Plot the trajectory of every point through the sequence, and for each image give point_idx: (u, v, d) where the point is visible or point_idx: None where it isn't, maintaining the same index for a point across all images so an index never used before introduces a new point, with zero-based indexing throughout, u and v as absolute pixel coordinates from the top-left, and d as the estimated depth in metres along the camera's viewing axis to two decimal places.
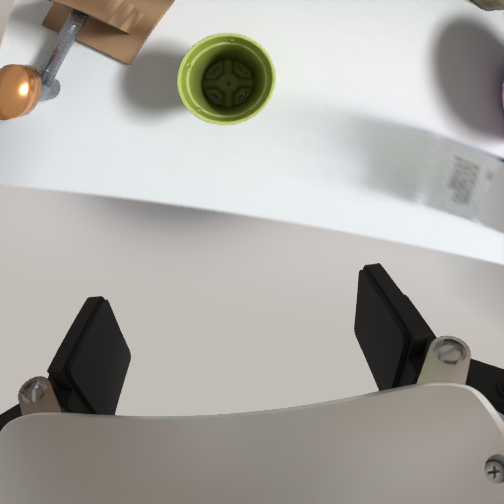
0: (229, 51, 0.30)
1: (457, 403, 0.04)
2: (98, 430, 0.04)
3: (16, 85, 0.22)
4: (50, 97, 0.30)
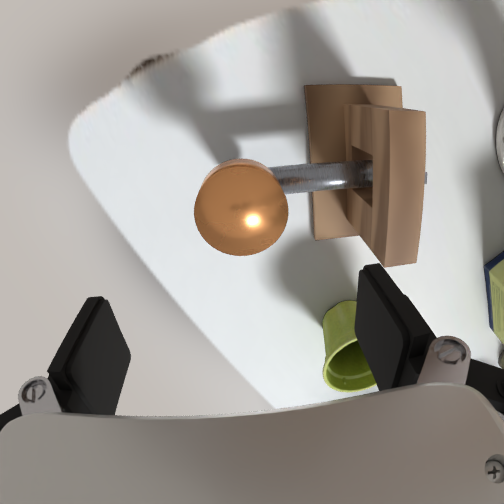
0: None
1: (457, 403, 0.04)
2: (98, 430, 0.04)
3: (261, 227, 0.21)
4: None
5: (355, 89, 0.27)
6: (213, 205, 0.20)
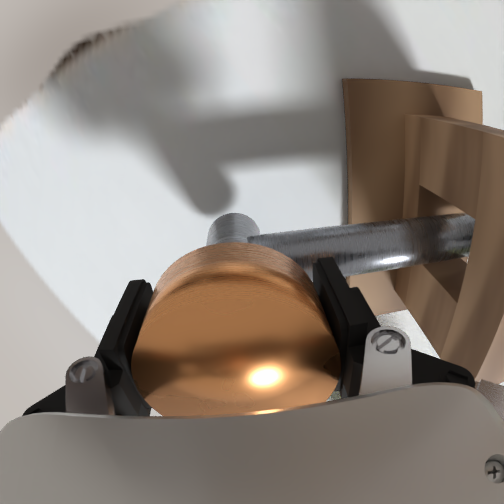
0: None
1: (457, 403, 0.04)
2: (98, 430, 0.04)
3: (279, 402, 0.09)
4: None
5: (422, 90, 0.15)
6: (173, 371, 0.08)
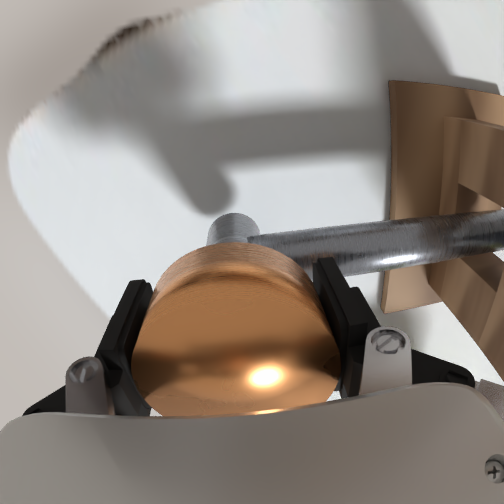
0: None
1: (457, 403, 0.04)
2: (98, 430, 0.04)
3: (279, 402, 0.09)
4: None
5: (459, 95, 0.15)
6: (173, 370, 0.08)
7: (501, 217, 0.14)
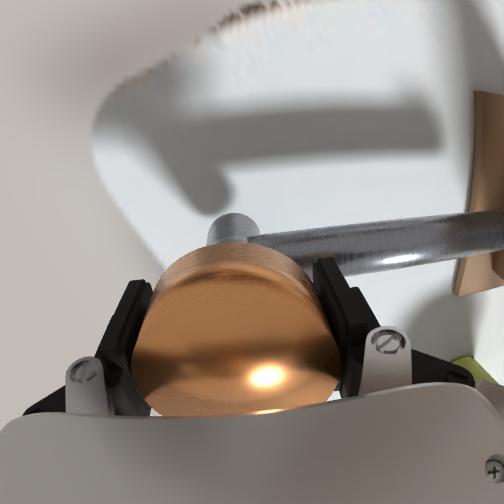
0: None
1: (457, 403, 0.04)
2: (98, 430, 0.04)
3: (279, 402, 0.09)
4: None
5: None
6: (173, 371, 0.08)
7: (501, 218, 0.14)
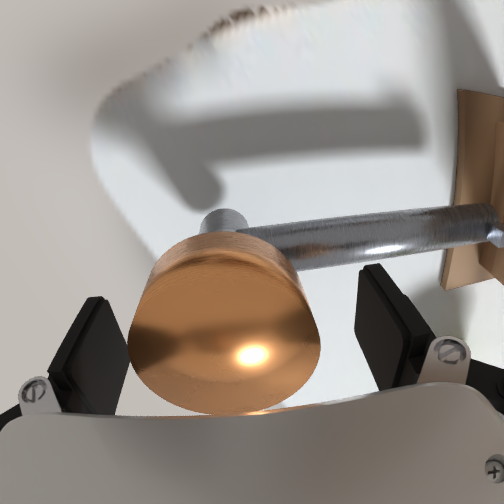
0: None
1: (457, 403, 0.04)
2: (98, 430, 0.04)
3: (264, 379, 0.10)
4: None
5: None
6: (165, 348, 0.09)
7: (482, 210, 0.15)
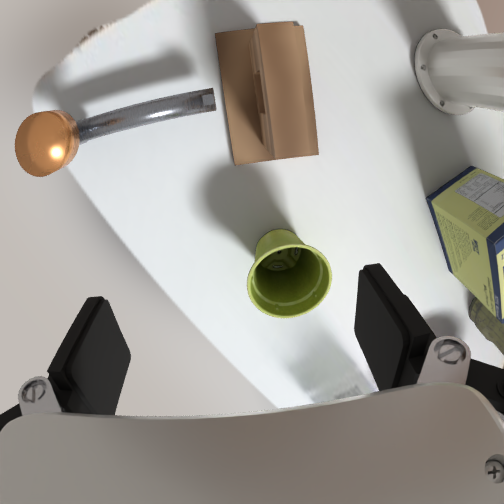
0: None
1: (457, 403, 0.04)
2: (98, 430, 0.04)
3: (51, 152, 0.23)
4: None
5: None
6: (24, 142, 0.23)
7: (200, 91, 0.28)
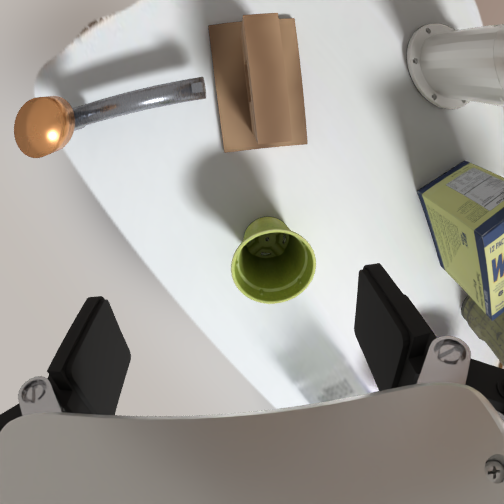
0: None
1: (457, 403, 0.04)
2: (98, 430, 0.04)
3: (47, 135, 0.24)
4: None
5: None
6: (22, 125, 0.23)
7: (190, 79, 0.29)
